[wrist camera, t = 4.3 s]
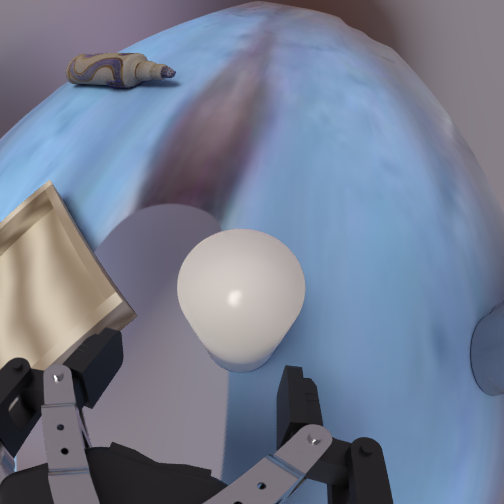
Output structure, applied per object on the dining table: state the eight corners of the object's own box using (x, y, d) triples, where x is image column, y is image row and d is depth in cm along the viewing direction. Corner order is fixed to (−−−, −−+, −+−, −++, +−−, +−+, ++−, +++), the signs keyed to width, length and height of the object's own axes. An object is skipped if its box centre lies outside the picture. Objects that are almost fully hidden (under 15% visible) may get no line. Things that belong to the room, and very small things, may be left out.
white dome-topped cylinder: (241, 293, 23) (242, 209, 14) (289, 338, 22) (330, 283, 12) (191, 336, 21) (152, 280, 12) (239, 387, 20) (239, 375, 10)
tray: (62, 199, 28) (49, 179, 25) (137, 315, 22) (122, 301, 19) (-32, 290, 21) (-49, 277, 18) (14, 424, 15) (-10, 422, 12)
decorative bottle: (68, 91, 42) (60, 65, 36) (94, 73, 46) (87, 48, 40) (160, 101, 38) (154, 64, 32) (188, 80, 41) (185, 46, 35)
